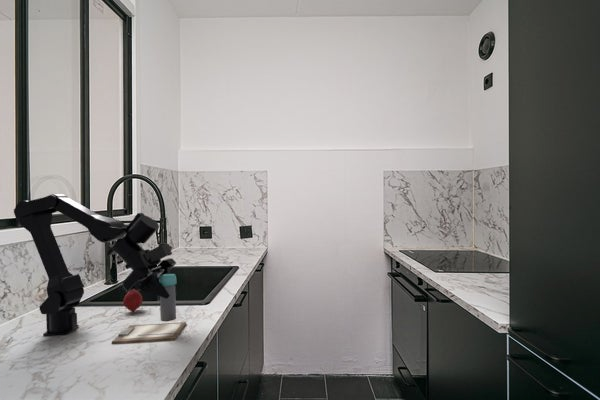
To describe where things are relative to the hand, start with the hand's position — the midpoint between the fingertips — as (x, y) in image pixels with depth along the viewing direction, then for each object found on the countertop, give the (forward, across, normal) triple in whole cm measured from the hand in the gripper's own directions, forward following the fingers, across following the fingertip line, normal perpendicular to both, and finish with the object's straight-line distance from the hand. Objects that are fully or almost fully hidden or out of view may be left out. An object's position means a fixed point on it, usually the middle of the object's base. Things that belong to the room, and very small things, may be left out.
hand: (172, 295), depth 98 cm
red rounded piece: (-9, +19, +24) cm, 32 cm away
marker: (+4, 0, +6) cm, 7 cm away
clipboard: (+3, 0, +12) cm, 12 cm away
